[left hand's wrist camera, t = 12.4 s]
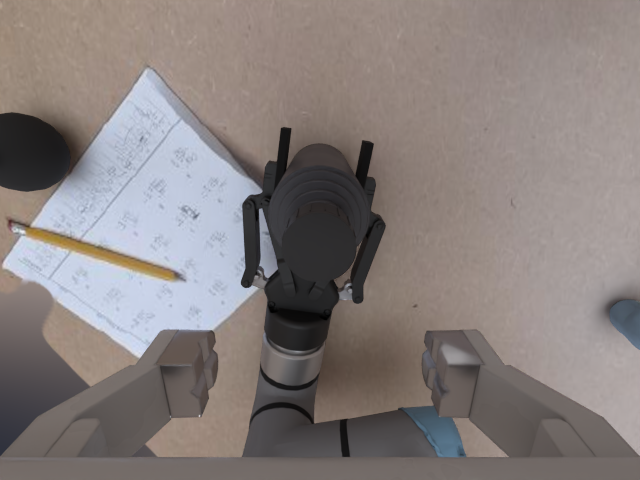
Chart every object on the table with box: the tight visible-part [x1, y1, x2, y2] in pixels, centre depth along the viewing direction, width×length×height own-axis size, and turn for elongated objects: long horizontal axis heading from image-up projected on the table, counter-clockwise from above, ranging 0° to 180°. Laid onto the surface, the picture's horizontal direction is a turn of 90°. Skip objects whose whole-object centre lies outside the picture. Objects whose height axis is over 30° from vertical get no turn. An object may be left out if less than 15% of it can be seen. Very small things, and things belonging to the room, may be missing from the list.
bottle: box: [268, 144, 370, 247], centre depth 29 cm, size 7×7×23 cm
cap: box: [282, 202, 357, 282], centre depth 19 cm, size 4×4×2 cm
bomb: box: [0, 112, 70, 192], centre depth 33 cm, size 8×8×12 cm
